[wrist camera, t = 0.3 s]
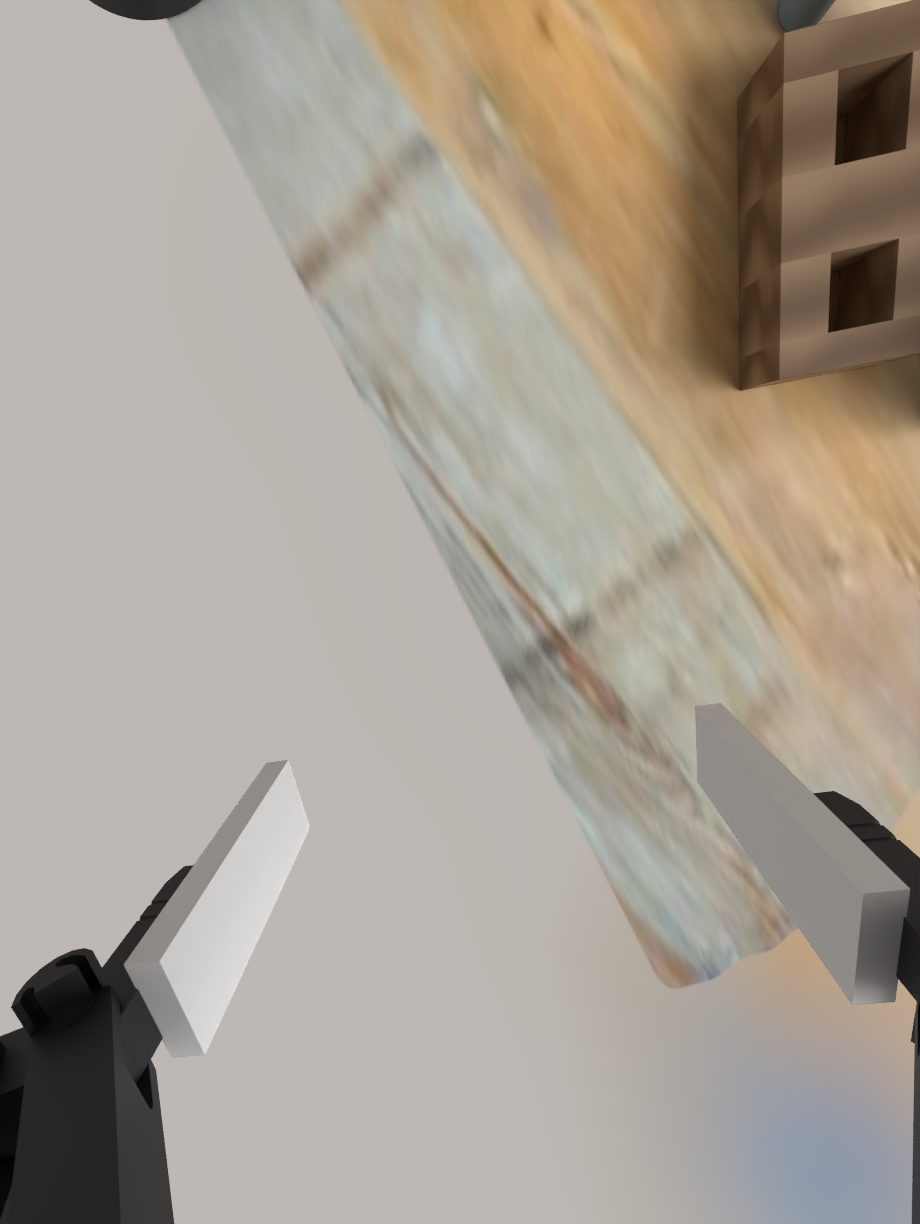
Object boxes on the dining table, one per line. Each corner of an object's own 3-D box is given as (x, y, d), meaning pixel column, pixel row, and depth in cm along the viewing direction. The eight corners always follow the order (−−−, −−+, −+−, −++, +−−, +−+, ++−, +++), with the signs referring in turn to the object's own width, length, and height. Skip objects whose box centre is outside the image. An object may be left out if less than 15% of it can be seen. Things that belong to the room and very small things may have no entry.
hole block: (737, 98, 31) (784, 33, 27) (898, 59, 30) (975, -16, 26) (740, 390, 36) (779, 379, 32) (877, 364, 36) (939, 348, 31)
